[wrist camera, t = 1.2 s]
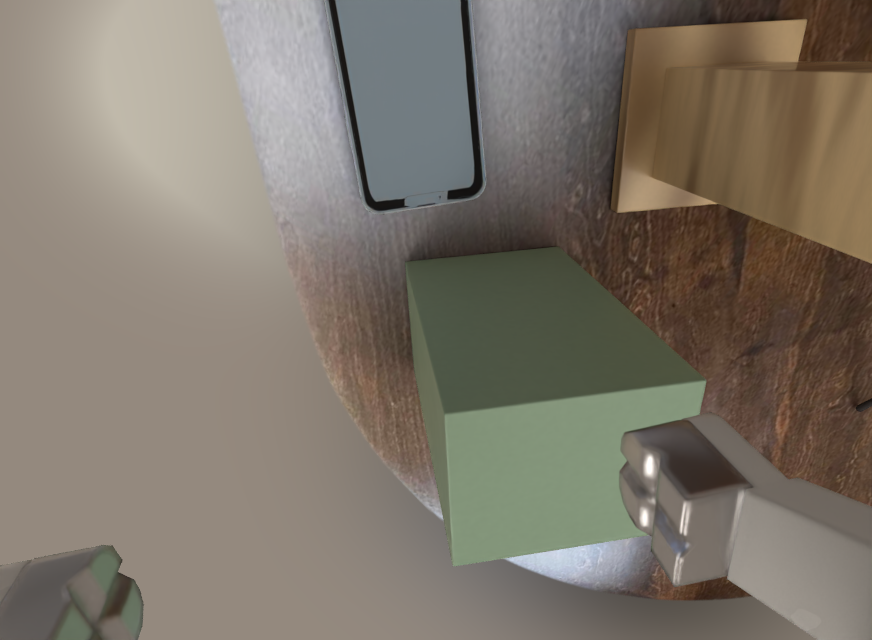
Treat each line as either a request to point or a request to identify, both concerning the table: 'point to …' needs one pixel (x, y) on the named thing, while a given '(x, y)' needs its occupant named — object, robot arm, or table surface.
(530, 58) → the table surface
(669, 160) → the wooden pedestal column
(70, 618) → the robot arm
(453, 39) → the smartphone
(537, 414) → the sage green upright box
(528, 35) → the table surface
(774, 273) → the table surface
